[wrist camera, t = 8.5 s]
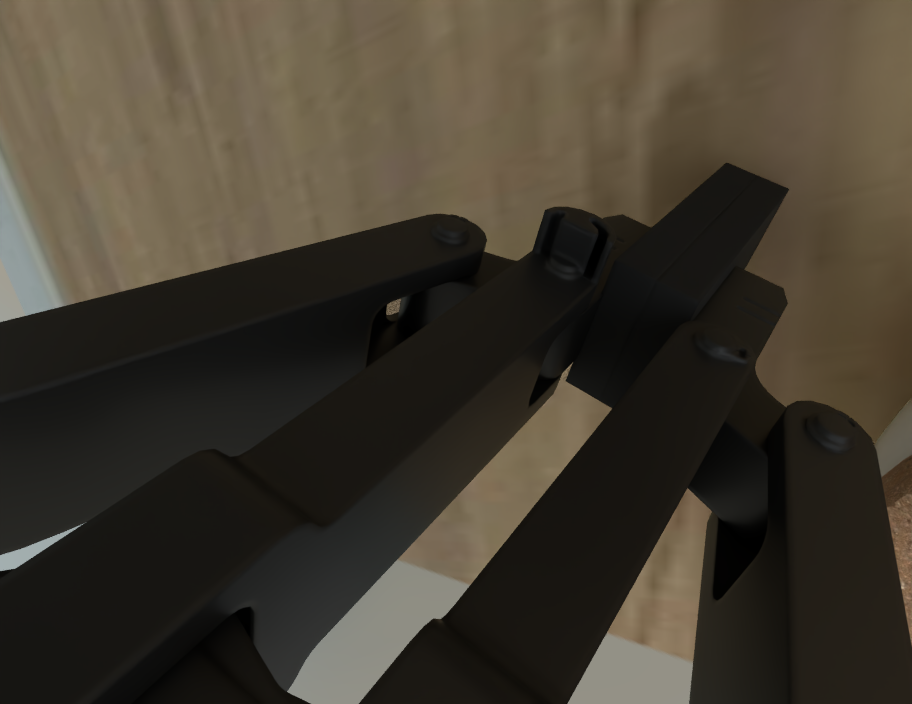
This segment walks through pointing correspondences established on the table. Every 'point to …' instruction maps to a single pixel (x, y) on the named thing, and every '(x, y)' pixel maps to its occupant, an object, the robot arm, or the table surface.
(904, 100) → the table surface
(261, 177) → the table surface
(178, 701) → the robot arm
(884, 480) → the trinket box
